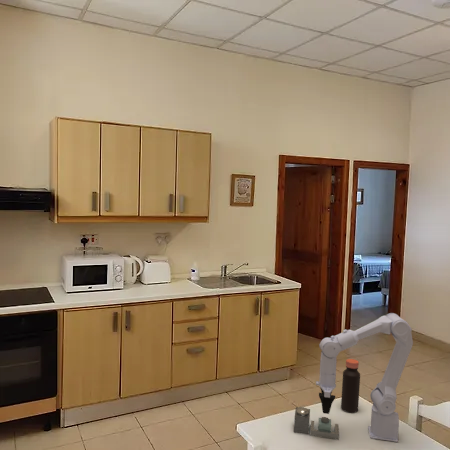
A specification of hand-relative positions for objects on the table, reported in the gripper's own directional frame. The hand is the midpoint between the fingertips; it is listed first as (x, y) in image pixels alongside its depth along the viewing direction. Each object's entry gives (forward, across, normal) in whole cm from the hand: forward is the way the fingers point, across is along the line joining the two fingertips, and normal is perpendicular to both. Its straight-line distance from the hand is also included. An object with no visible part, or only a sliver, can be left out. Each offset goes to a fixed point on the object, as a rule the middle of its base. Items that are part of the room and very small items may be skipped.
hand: (325, 408), depth 163 cm
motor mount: (+9, 0, -3) cm, 9 cm away
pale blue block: (+9, 0, 0) cm, 9 cm away
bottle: (+9, -21, +10) cm, 25 cm away
